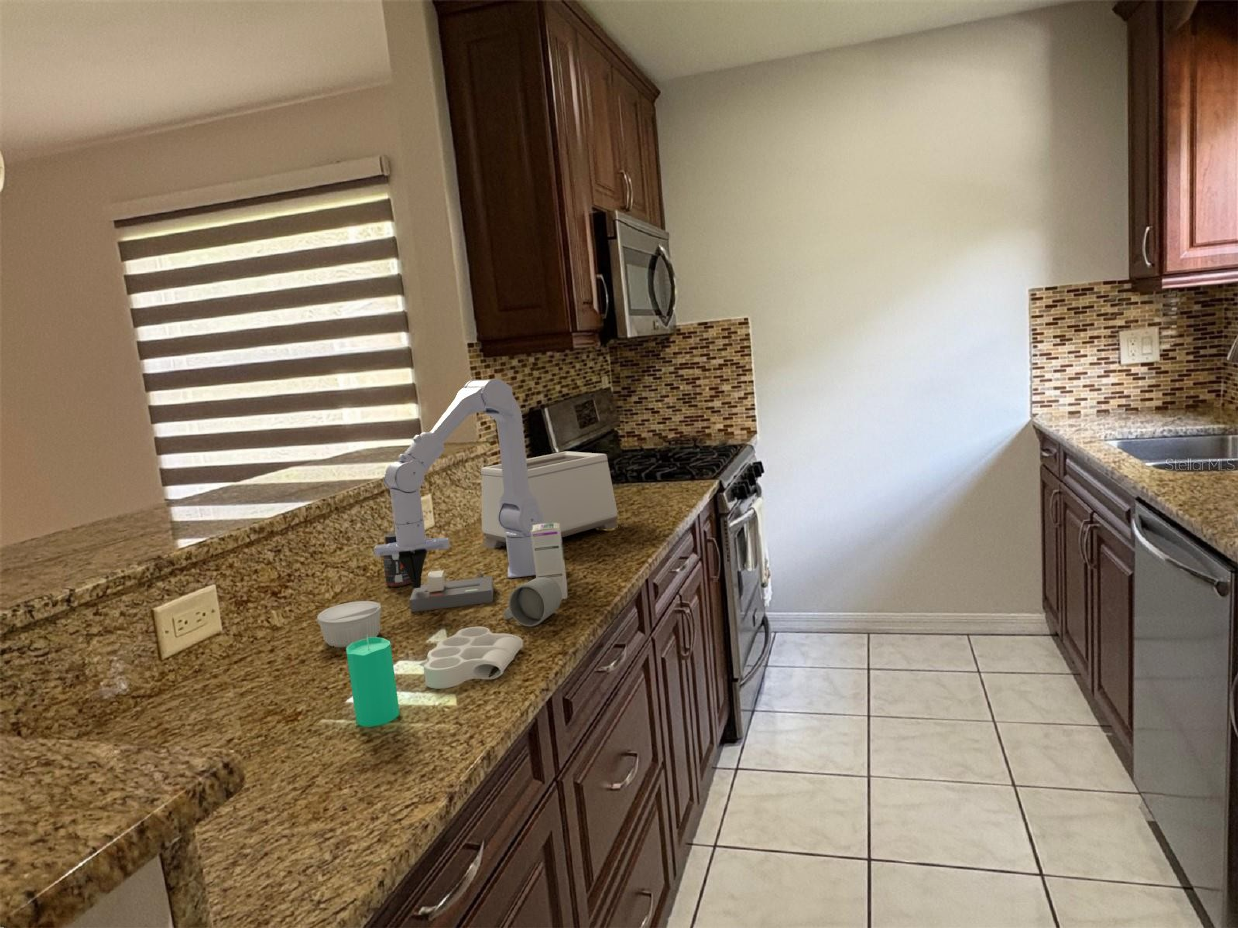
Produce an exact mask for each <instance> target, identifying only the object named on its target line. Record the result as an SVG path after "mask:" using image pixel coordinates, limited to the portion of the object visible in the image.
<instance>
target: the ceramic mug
mask: <svg viewBox="0 0 1238 928" xmlns="http://www.w3.org/2000/svg"><path fill="white" fill-rule="evenodd" d="M562 600H563V599H562V593H561V589H560V587H559V586H558V584H557V583H556V582H555V581H554V580H552V579H550V578H547V577H540V578H536V577H535V578H534V579H531V580H530V581H526V582H525V583H522V584H521V585H518V586H516V587H515V588H514V589H513V590H512V591H511V593H510V595H509V598H508V608H507V609H505V610H504V611H503V612H502V614H503V616H504V619H505V620H509V619H512V618H513V619H514V621H516V622H517V623H518V624H520V626H521V625H522V626H525V627H535V626H539V625H540V624H541V623H543V622H544V620H546V619H547V618H549V617H550V616H551V615H553V614H555V612H556V611H557V610H558V609H559V607H560V606H561V603H562Z"/></svg>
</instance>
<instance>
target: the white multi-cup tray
mask: <svg viewBox="0 0 1238 928" xmlns="http://www.w3.org/2000/svg"><path fill="white" fill-rule="evenodd" d="M523 647H524V640H523V639H522V638H521V637H520V636H518V635H515V634H510V633H493V632H491V630H490V629H489V628H488V627H486V626H470V627H464V628H462V629H459V630H457V632H456V633H455V634H454V635H451V636H449V637H447V638H443V639H442V640H440V641H438V642H437V643H436V647H434V648H433V649H431V650H429V651H428V653H427V656H426V659H425V660H423V661H422V662H420V663H419V664H418V666H421V667H423V671H424V672H423V674H424V681H425V685H426V686H427V687H428V688H430V689H437V690H438V689H448V688H453V687H456V686H458V685H461V684H463V683H465V682H466V681H470V680H473V679H475V680H477V679H481V680H494V679H497V678H499V677H500V676H502V675H503V674H504V672H505V670H506V668H507V667H508V666H509V664H510V663H511V662H513V660H514V659H515V657H516V654H518V653H519V651H520V650H521V649H522V648H523ZM495 667H497V668H498V669H497V671H496V672H495V673H494V674H493V675H492V676H490V674H491V672H492V670H493V669H494V668H495ZM489 676H490V677H489Z"/></svg>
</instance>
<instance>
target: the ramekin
mask: <svg viewBox="0 0 1238 928" xmlns="http://www.w3.org/2000/svg"><path fill="white" fill-rule="evenodd" d="M382 610H383V609H382V605H381V604H380V603H379V602H377V601H372V600H356V601H349V602H345V603H341V604H340V603H339V604H337V605H333V606H331V607H327V608H326V609H324V610H322V611H321V612H320V613H318V615H317V617H316V621H317V624H318V625H319V627H320V631H321V634H322V637H323V641H325V643H326V644H328V646H330V647H333V646H334V647H333V648H347V647H348V646H349V645H350V644H351V643H354V642H357V641H360V640H363V639H366V638H367V636H366V635H368V638H370V637H378V635H379V634H380V631H381V613H382Z"/></svg>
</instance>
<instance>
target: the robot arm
mask: <svg viewBox="0 0 1238 928" xmlns="http://www.w3.org/2000/svg"><path fill="white" fill-rule="evenodd" d="M477 413H478V414H479V413H484V414H486V415H488V417H490V418H491V419H493V420H494V421H495V422H496V424H497V433H498V434H497V436H498V443H499V453H500V464H501V465H502V474H503V484H504V493H503V495H502V496H501V498H500V508H499V512H498V522H499V524H500V525H501V527H503V528H504V531H505V534H506V544H507V545H506V551H507V552H506V553H507V559H508V567H507V578H508V579H513V578H521V577H523V578H524V577H531V576H532V577H533V576H536V573H535V565H534V556H533V547H532V539H531V529H532V525H537V524H542V523H543V515H542V512H541V510H540V509H539V506H538V500H537V498H536V497H535V496H534V495H533V494H532V492H531V491H530V490H529V483H528V473H527V463H526V459H527V453H526V447H525V446H526V445H525V436H524V425H523V416H522V410H521V407H520V405H519V404H518V401H517V400H516V398H515V396H514V394H513V387H512V386H511V385H510V384H508V383H507V382H505V381H503V380H502V379H500V378H492V379H471V380H469V381H467V382H466V383H465V385H464V387H463V388H461V389H460V390H458V392H457V394H456V396H455V398H454V400H453V401H452V402H451V404H450V405H449V406H448V407H447V409H446V410H445V411H444V413H443V414H442V415H441V416H440V418H439V419H438V421H437V422H436V424H434V426H433V427H432V429H431V430H430V431H426V432H425V431H423V432H421V433H420V434H415V435H414V437H412V441H413V442H412V443H411V444H410V446H409V447H408V448H407V449H406V450H405V451H404V452H403V453H400V454H399V455H398V456H397V459H398V461H395V462H392V463H390V464H389V465H388V466H387V468H386V470H385V472H384V476H383V477H382V480H383V484H384V485H385V486H386V488H388V490H389V491H390V493H389V494H390V502H391V509H392V517H393V523H394V524H393V525H394V533H396V540H397V542H395V543H390V544H385V543H384V544H377V545H375V546H374V548H373V551H374V557H375V558H381V557H383V555H392V554H399V558H398V559H399V561H400V563H401V564H402V565H403V567H404V568H405V570H406V571H407V573H408V575H409V577H410V580H411V584H412V588H413V589H414V588H420V587H421V585H422V574H423V568H424V564H425V560H426V556H427V554H428V551H435V550H449V549H450V537H436V538H435V537H434V538H431V537H430V538H427V536H426V529H425V520H424V513H423V505H422V498H421V497H422V496H421V492H420V491H421V490H420V488H421V487H422V486H423V484H424V481H425V474H426V473H427V471H428V470H429V469H430V468H431V467H432V466H433V465H434V463H435V462H436V461H437V459H438V458H439V457H440V456H441V455H442V454H443V452H444V451H445V441H446V440H447V439H448V438H449V437H450V436H451V435H452V433H454V432H455V430H456V429H457V428H458V427H459V426H460V425H461V424H462V423H463V422H464V421H465V419H467V418H468V416H470V415H474V414H477Z"/></svg>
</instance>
